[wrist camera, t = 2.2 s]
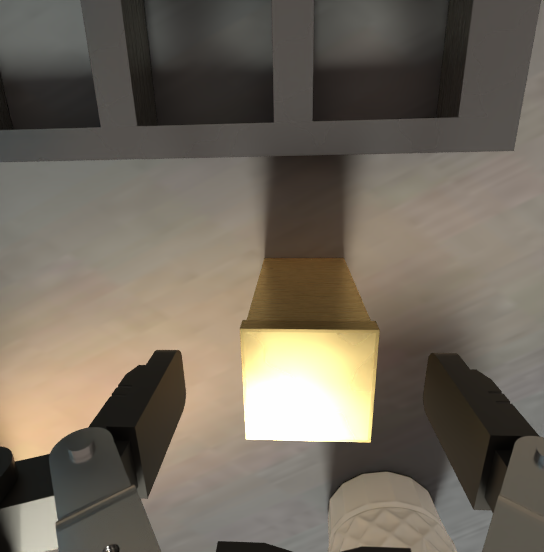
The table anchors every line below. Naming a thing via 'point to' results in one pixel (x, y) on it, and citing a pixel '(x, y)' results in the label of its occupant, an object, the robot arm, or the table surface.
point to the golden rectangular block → (308, 354)
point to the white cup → (385, 515)
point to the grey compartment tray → (293, 94)
